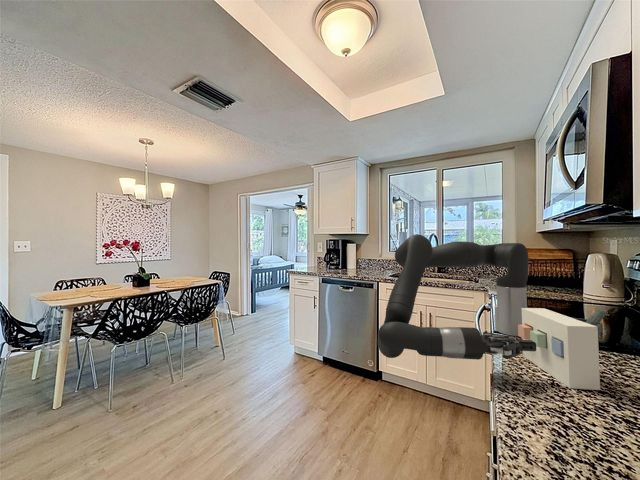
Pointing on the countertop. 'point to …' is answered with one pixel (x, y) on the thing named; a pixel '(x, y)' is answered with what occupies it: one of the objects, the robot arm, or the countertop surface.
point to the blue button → (557, 346)
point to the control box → (565, 348)
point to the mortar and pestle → (595, 319)
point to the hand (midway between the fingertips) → (534, 345)
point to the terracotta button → (524, 331)
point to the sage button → (538, 338)
